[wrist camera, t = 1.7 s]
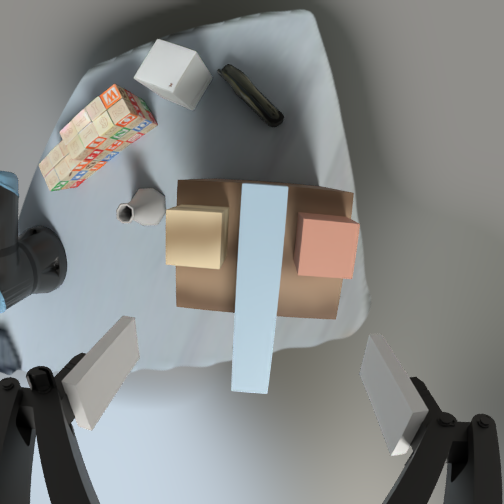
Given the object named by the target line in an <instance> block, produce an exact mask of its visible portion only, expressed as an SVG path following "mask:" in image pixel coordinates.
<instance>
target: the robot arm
mask: <svg viewBox="0 0 504 504" xmlns="http://www.w3.org/2000/svg"><path fill="white" fill-rule="evenodd" d="M18 198H19V194H18V178H17V176H16V175H15V174H14V173H11V172H5V171H0V313H3V312H5V310H6V309H8V308H10V307H11V306H13V305H14V304H16V303H18V302H19V301H21V300H23V299H24V298H26V297H27V296H29V295H31V294H38V293H49V292H51V291H53V290H55V289H57V288H58V287H59V286H60V285H61V284H62V283H63V281H64V279H65V276H66V271H67V261H66V255H65V251H64V248H63V246H62V244H61V242H60V240H59V238H58V237H57V236H56V235H55V233H54V232H53V231H51V230H50V229H49V228H47V227H44V226H35V227H32V228H29V229H27V230H26V231H24V232H23V233H22V234H21V235H20V236H19V237H18ZM139 358H140V355H139V348H138V340H137V332H136V324H135V317H128V316H122V317H121V318H120V319H119V320H118V321H117V322H116V324H115V325H114V326H113V327H112V328H111V329H110V330H109V331H108V332H107V333H106V334H105V335H104V336H103V337H102V338H101V339H100V340H99V341H98V342H97V343H96V344H95V345H94V346H93V348H92V349H91V350H90V351H89V352H88V353H87V354H85V353H80V354H78V355H77V356H75V357H73V358H72V359H71V360H70V361H69V363H67V365H66V366H65V367H64V368H63V369H62V370H61V371H60V372H59V373H58V374H57V375H56V376H55V377H54V376H53V373H52V371H51V369H49V368H48V367H45V366H38V367H34V368H32V369H30V370H29V371H28V372H27V375H26V378H27V381H28V384H29V386H30V388H24V387H21V386H20V383H19V381H18V380H17V379H15V378H11V377H10V378H4V379H2V380H1V381H0V504H30V487H31V473H32V462H33V454H34V444H35V438H36V436H37V443H38V448H39V454H40V459H41V464H42V469H43V473H44V478H45V482H46V486H47V490H48V494H49V497H50V501H51V504H100V502H99V500H98V498H97V495H96V493H95V491H94V488H93V486H92V483H91V480H90V478H89V475H88V473H87V470H86V467H85V464H84V461H83V458H82V455H81V452H80V449H79V446H78V443H77V440H76V436H75V433H74V429H73V426H72V424H71V422H72V421H73V419H74V418H75V419H76V422H77V424H78V426H79V427H82V428H85V429H88V430H91V431H92V430H93V429H94V427H95V425H96V424H97V422H98V421H99V419H100V418H101V416H102V414H103V413H104V411H105V410H106V408H107V407H108V405H109V404H110V402H111V401H112V399H113V397H114V396H115V394H116V393H117V391H118V390H119V388H120V387H121V385H122V384H123V382H124V381H125V379H126V378H127V376H128V374H129V373H130V372H131V370H132V369H133V367H134V366H135V364H136V363H137V361H138V360H139ZM359 375H360V377H361V380H362V382H363V385H364V387H365V389H366V392H367V395H368V397H369V400H370V402H371V405H372V407H373V410H374V412H375V415H376V418H377V420H378V423H379V426H380V428H381V431H382V433H383V436H384V439H385V441H386V444H387V447H388V450H389V453H390V455H391V456H393V455H400V454H405V453H406V452H407V450H408V449H409V447H410V445H411V447H412V449H413V453H412V454H411V456H410V457H409V459H408V461H407V462H406V464H405V467H404V469H403V471H402V472H401V474H400V476H399V477H398V479H397V481H396V482H395V484H394V486H393V487H392V489H391V491H390V492H389V494H388V495H387V497H386V498H385V500H384V502H383V503H382V504H427V503H428V501H429V498H430V497H431V494H432V492H433V490H434V488H435V486H436V483H437V481H438V478H439V476H440V474H441V471H442V469H443V466H444V464H445V463H448V465H447V478H446V488H445V496H444V503H443V504H502V479H501V478H502V477H501V464H500V454H499V445H498V437H497V431H496V424H495V421H494V420H493V419H492V418H491V417H490V416H488V415H485V414H477V415H475V416H474V417H473V419H472V421H471V422H457V420H456V418H455V417H454V416H453V415H451V414H449V413H446V412H442V411H441V409H440V408H439V406H438V405H437V403H436V401H435V400H434V398H433V397H432V395H431V394H430V392H429V390H427V387H426V386H425V384H424V383H423V382H422V381H421V380H419V379H418V378H417V377H410V378H409V376H408V375H407V373H406V372H405V370H404V368H403V367H402V365H401V364H400V362H399V360H398V359H397V357H396V356H395V354H394V353H393V351H392V349H391V348H390V346H389V345H388V343H387V342H386V340H385V338H384V337H383V336H382V334H369V337H368V342H367V345H366V349H365V353H364V357H363V361H362V365H361V368H360V372H359Z"/></svg>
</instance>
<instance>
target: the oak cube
mask: <svg viewBox="0 0 504 504" xmlns="http://www.w3.org/2000/svg"><path fill="white" fill-rule="evenodd" d="M229 208H230V207H219V206H202V205H179V206H176V207H173V208H170V209H167V210H166V265H176V266H187V267H198V268H210V269H220V268H221V266H222V264H223V262H224V260H225V258H226V256H227V246H228V227H229Z"/></svg>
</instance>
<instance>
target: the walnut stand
mask: <svg viewBox="0 0 504 504" xmlns="http://www.w3.org/2000/svg"><path fill="white" fill-rule="evenodd" d="M242 183H257V184H271V185H283V186H288V199H287V211H286V223H285V235H284V246H283V257H282V267H281V278H280V288H279V297H278V307H277V316H283V317H299V318H317V319H336V316H337V310H338V305H339V299H340V293H341V287H342V281H343V278H330V277H315V276H301V275H298V274H297V270H296V267H295V263H294V252H295V242H296V231H297V221H298V212H303V213H314V214H324V215H335V216H344V217H348V218H349V219H351V214H352V204H353V194H354V193H351V192H346V191H341V190H336V189H331V188H326V187H321V186H312V185H302V184H291V183H279V182H266V181H251V180H235V179H215V178H214V179H189V180H178V186H177V206H179V205H202V206H219V207H230V208H229V227H228V246H227V256H226V258H225V260H224V262H223V264H222V266H221V268H220V269H210V268H198V267H187V266H176V304H177V307H184V308H193V309H202V310H212V311H222V312H233V313H235V300H236V280H237V262H238V244H239V227H240V211H241V194H242Z"/></svg>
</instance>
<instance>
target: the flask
mask: <svg viewBox="0 0 504 504" xmlns="http://www.w3.org/2000/svg"><path fill="white" fill-rule="evenodd" d="M116 212H117V219H118V220H119V221H120V222H122V223H131V221H132V220H134V221H136V222H138V223H140V224H141V225H143V226H152V225H158V224H159V222H160V221H161V219H162V218H163V216H164V215H165V213H166V208H165V196H163V195H162V194H161V193H159V192H158V191H157V190H155V189H154V188H143V189H138V191H137V193H136V194H135V196H134V197H133V199H132V200H131V201H130V202H129V203H124V204H120V205H119V207H118V209H117V210H116Z"/></svg>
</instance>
